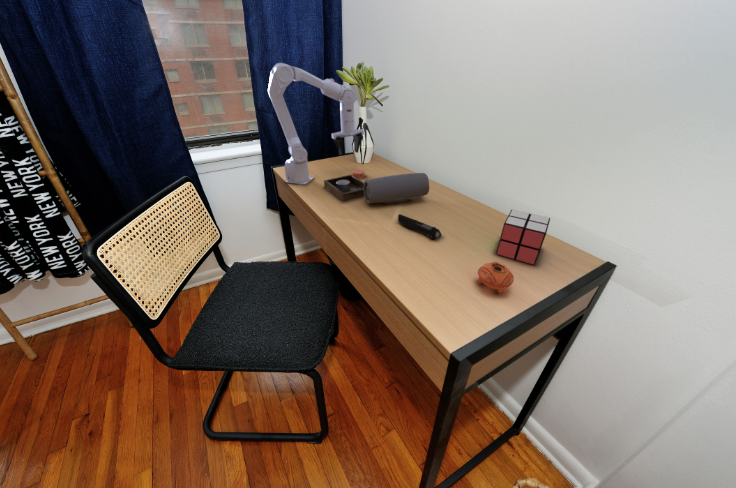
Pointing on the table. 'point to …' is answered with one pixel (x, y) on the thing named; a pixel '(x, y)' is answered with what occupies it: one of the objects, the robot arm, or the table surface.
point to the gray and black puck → (343, 184)
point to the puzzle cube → (523, 236)
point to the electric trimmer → (420, 226)
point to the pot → (495, 276)
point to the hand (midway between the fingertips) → (348, 153)
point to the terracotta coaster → (358, 173)
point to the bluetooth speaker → (396, 188)
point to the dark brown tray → (349, 194)
